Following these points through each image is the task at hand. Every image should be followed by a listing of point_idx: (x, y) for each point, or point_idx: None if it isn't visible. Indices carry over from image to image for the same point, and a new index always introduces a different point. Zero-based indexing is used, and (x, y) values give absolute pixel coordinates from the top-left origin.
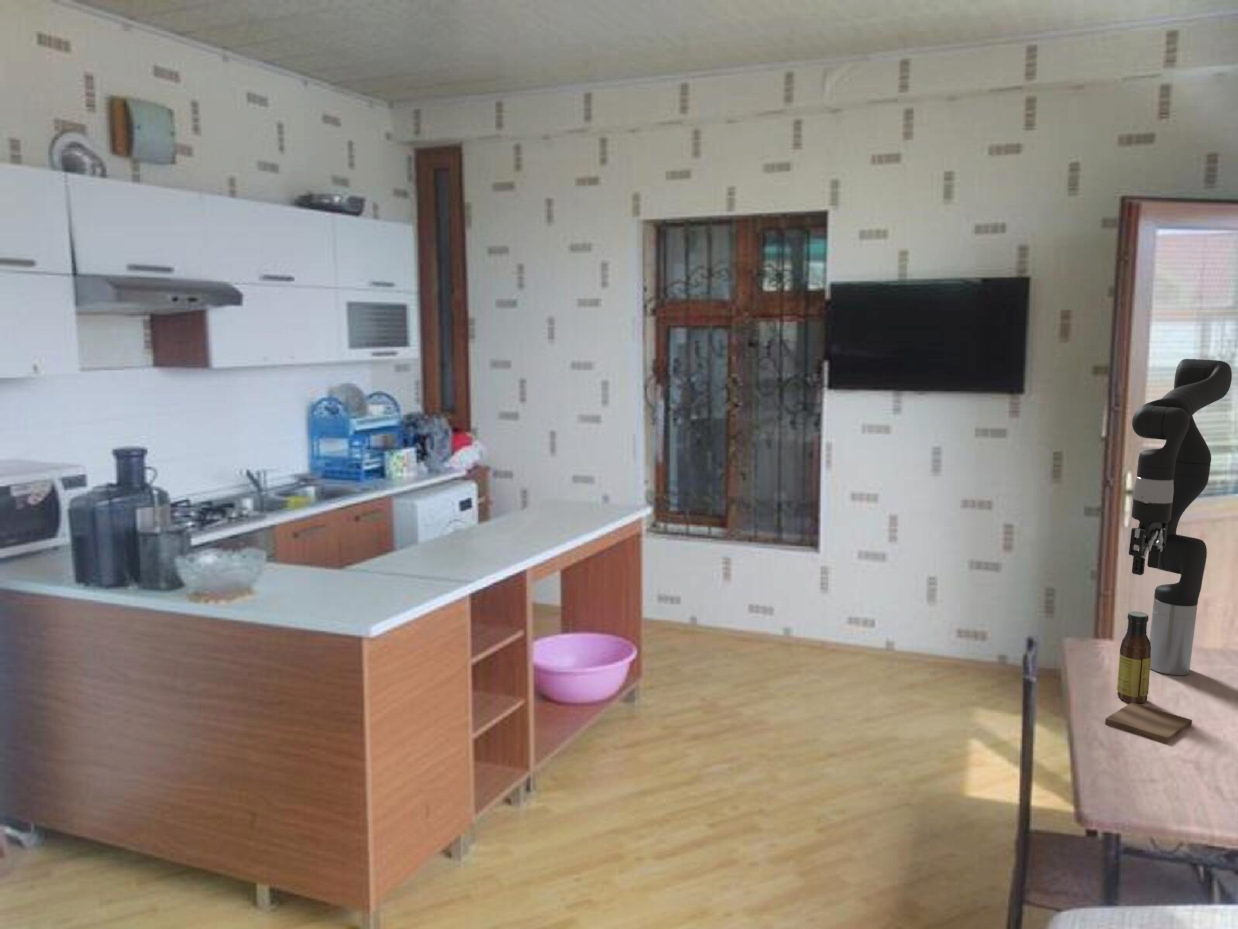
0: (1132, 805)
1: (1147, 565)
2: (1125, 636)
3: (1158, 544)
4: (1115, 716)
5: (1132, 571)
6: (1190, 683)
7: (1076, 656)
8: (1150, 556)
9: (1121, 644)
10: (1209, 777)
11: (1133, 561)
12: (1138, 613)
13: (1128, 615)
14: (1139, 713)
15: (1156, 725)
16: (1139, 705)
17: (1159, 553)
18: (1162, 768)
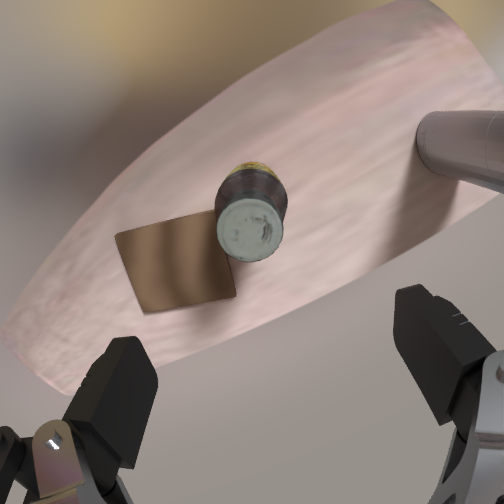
0: (27, 348)
1: (399, 290)
2: (225, 194)
3: (433, 501)
4: (133, 237)
5: (112, 343)
6: (412, 194)
7: (362, 20)
8: (432, 349)
9: (222, 184)
10: None
11: (86, 394)
12: (254, 229)
13: (223, 209)
14: (180, 247)
15: (163, 285)
16: (212, 226)
17: (440, 417)
18: (90, 335)
